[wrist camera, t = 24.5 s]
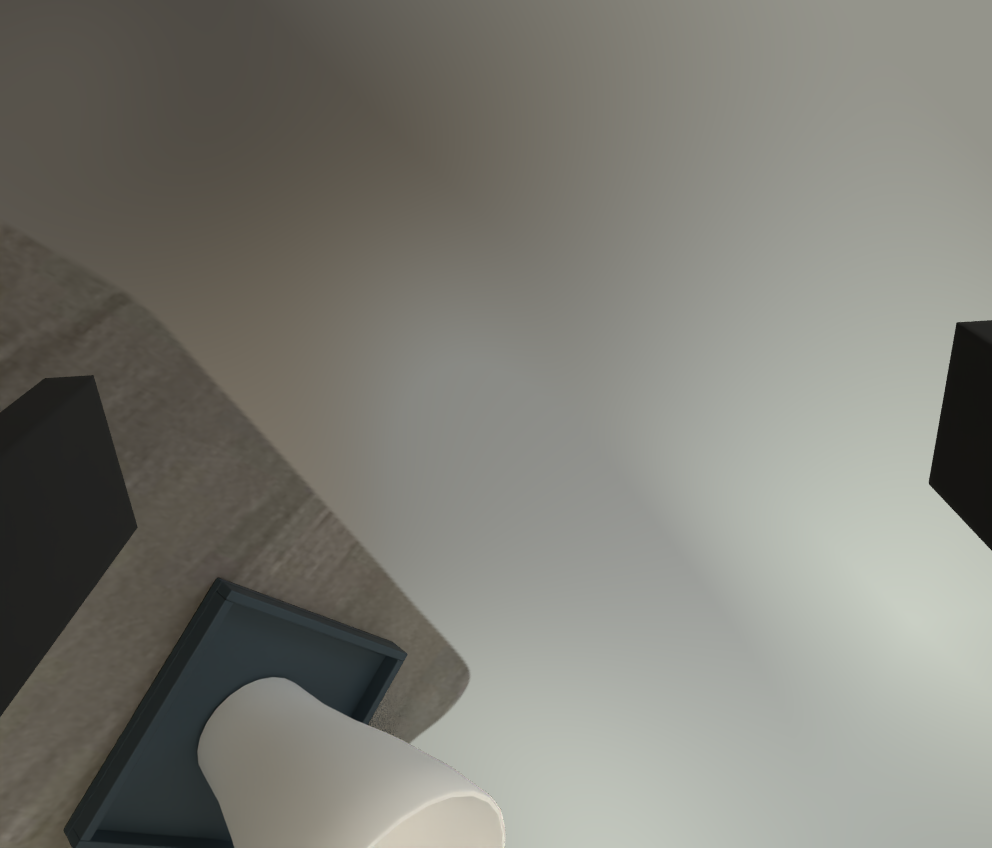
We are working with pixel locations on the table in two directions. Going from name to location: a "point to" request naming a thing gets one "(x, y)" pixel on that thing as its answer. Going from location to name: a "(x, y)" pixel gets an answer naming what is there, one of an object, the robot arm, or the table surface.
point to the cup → (333, 779)
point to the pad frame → (196, 695)
